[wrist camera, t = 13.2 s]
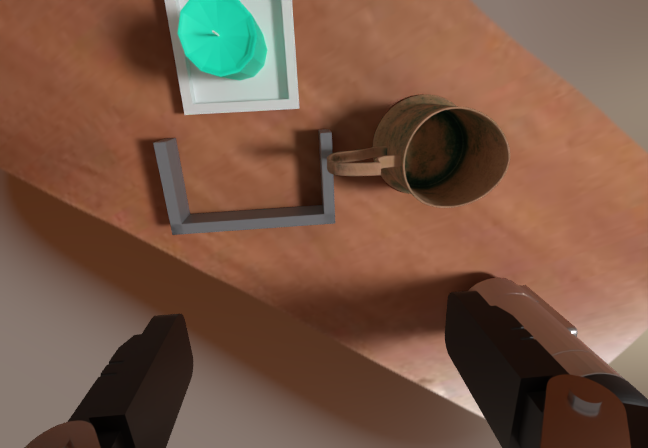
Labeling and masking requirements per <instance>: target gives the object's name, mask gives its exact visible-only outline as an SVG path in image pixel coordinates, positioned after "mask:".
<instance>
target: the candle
mask: <svg viewBox="0 0 648 448" xmlns="http://www.w3.org/2000/svg"><path fill="white" fill-rule="evenodd" d="M177 34H178V36H179V39H180V42H181V44H182V47H183V50H184V53H185V55H186V56H187V57H188V58H189V59H190V61H191V62H192V63H193V64H194V65H195V66H196V67H197V68H198V69H199V70H200V71H202V72H205V73H209V74H212V75H215V76H219V77H223V78H228V79H234V80H239V81H241V80H244V79H248V78H252V77H254V76H255V75H256V74H257V73H258V72H259V71H260V70H261V69H262V68H263V67H264V65H265V60H266V55H267V51H268V50H267V46H266V43H265V39H264V35H263V33H262V31H261V29H260V28H259V26H258V24H257V23H256V21H255V19H254V17H253V16H252V14H251V13H250V12H249V11H248V10H247V8H246V7H245V6H244V5H243V4H242V3H241V2H240V1H239V0H189V1H188V2H187V3H186V4H185V6H184V7H183V8H182V10H181V11H180V18H179V25H178V33H177Z"/></svg>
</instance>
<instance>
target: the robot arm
mask: <svg viewBox="0 0 648 448" xmlns="http://www.w3.org/2000/svg"><path fill="white" fill-rule="evenodd" d="M577 332H578V331H577V329H576V327H575V326H573V325H572V324H571V323H570V322H569V321H567V320H566V319H565V318H564V317H563V316H562V315H560V314H559V313H558V312H557V311H556V310H554V309H553V308H552V307H551V306H550V305H549V304H547V303H546V302H545V301H544V300H543V299H542V298H540V297H539V296H538V295H537V294H536V293H534V292H533V291H532V290H531V289H530V288H529V287H527V286H526V285H523V286H521V285H517V284H516V283H514V282H513V281H511V280H508V279H505V278H491V279H487V280H484V281H481V282H479V283H477V284H476V285H474V286H473V287H471V288H470V289H469V290H468V291H462V292H451V293H450V294H449V296H448V301H447V313H446V326H445V343H446V348H447V351H448V354H449V356H450V358H451V360H452V361H453V363H454V365H455V367H456V368H457V370H458V372H459V373H460V375H461V377H462V379H463V380H464V382H465V384H466V386H467V387H468V389H469V391H470V393H471V394H472V396H473V398H474V399H475V401H476V403H477V405H478V406H479V408H480V410H481V412H482V413H483V415H484V417H485V419H486V420H487V422H488V424H489V425H490V427H491V429H492V430H493V432H494V434H495V436H496V438H497V439H498V441H499V443H500V445H501V446H502V448H648V399H647V398H646V397H645V396H644V395H642V394H641V393H640V392H639V391H638V390H637V389H636V388H634V387H633V386H632V385H631V384H630V383H629V382H628V381H626V380H625V379H624V378H623V377H622V376H621V375H619V374H618V373H617V372H616V371H615V370H614V369H613V368H611V367H610V366H609V365H608V364H607V363H606V362H605V361H603V360H602V359H601V358H600V357H599V356H598V355H596V354H595V353H594V352H593V351H592V350H591V349H590V348H588V347H587V346H586V345H585V344H584V343H583V342H582V341H581V340H579V339H578V338H577ZM192 372H193V355H192V351H191V346H190V342H189V337H188V333H187V328H186V323H185V319H184V317H183V315H182V314H171V315H159V316H154V317H153V318H152V319H151V321H150V322H149V324H148V325H147V327H146V328H145V330H144V332H143V333H142V334H140V335H134V336H133V337H132V338H130V339H129V340H128V341H127V342H125V343H124V344H123V345H122V346H120V347H119V348H118V350H117V351H116V353H115V354H114V355H113V357H112V358H111V360H110V361H109V365H107V366H106V367H105V368H104V370H103V371H102V373H101V376H100V377H98V379H97V380H96V381H95V383H94V384H93V386H92V387H91V389H90V390H89V392H88V393H87V394H86V396H85V398H84V399H83V400H82V402H81V403H80V405H79V406H78V407H77V409H76V410H75V412H74V413H73V415H72V416H71V418H70V419H69V420H68V422H66V423H63V424H60V425H57V426H55V427H53V428H51V429H49V430H47V431H45V432H43V433H42V434H40V435H39V436H37V437H36V438H35V439H33V440H32V441H31V442H30V443H29V444H28V445H27V446H26V447H24V448H166V446H167V443H168V440H169V438H170V435H171V432H172V429H173V427H174V424H175V421H176V418H177V415H178V413H179V410H180V408H181V405H182V402H183V399H184V397H185V394H186V391H187V389H188V386H189V383H190V380H191V377H192Z"/></svg>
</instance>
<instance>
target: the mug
mask: <svg viewBox="0 0 648 448" xmlns="http://www.w3.org/2000/svg"><path fill="white" fill-rule="evenodd" d="M370 158H373V159H374V162H369V163H344V162H353V161H361V160H366V159H370ZM509 162H510V149H509V145H508V142H507V139H506V137H505V135H504V133H503V132H502V130H501V129H500V127H499V126H498V125H497V124H496V123H495V122H494V121H493V120H492V119H491V118H490V117H488V116H487V115H485V114H484V113H482V112H480V111H477V110H474V109H471V108H467V107H458V106H456V105H455V104H453V103H452V102H450V101H449V100H447V99H445V98H443V97H440V96H436V95H417V96H412V97H409V98H407V99H404V100H402V101H401V102H399V103H397V104H396V105H395V106H393V107H392V108H391V109H390V110H389V111H388V112H387V113H386V114H385V115H384V117H383V118H382V120H381V121H380V123H379V125H378V127H377V129H376V132H375V135H374V139H373V147H371V148H366V149H361V150H353V151H343V152H336V153H332V154H330V155H329V156H328V157H327V170H328V172H329V173H331V174H334V175H340V176H374V175H381V177H382V178H383V179H384V180H385V182H386V183H388V184H389V185H390V186H391V187H393V188H394V189H396V190H398V191H401V192H404V193H408V194H412V195H413V196H414V197H415V198H416V199H418V200H419V201H420V202H422V203H424V204H426V205H429V206H433V207H438V208H453V207H459V206H463V205H467V204H470V203H472V202H475V201H477V200H479V199H480V198H482V197H484V196H485V195H486V194H488V193H489V192H490V191H491V190H493V189H494V188H495V187H496V186H497V185H498V184H499V182H500V181H501V180H502V178H503V177H504V175H505V174H506V172H507V169H508V166H509Z"/></svg>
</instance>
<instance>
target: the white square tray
mask: <svg viewBox="0 0 648 448" xmlns="http://www.w3.org/2000/svg"><path fill="white" fill-rule="evenodd" d="M188 1H189V0H165V6H166V12H167V17H168V23H169V29H170V35H171V40H172V46H173V52H174V57H175V63H176V69H177V74H178V80H179V86H180V91H181V97H182V103H183V108H184V114H185V115H191V114H209V113H228V112H246V111H264V110H283V109H299V96H298V82H297V67H296V53H295V38H294V24H293V9H292V0H239V1H240V2H241V3H242V4H243V5H244V6H245V7H246V8H247V10H248V11H249V12H250V13H251V14H252V16H253V17H254V19H255V21H256V23H257V24H258V26H259V28H260V29H261V31H262V33H263V35H264V39H265V43H266V46H267V50H268V51H267V55H266V60H265V65H264V67H263V68H262V69H261V70H260V71H259V72H258V73H257V74H256V75H255V76H254V77H252V78H248V79H244V80H241V81H239V80H234V79H228V78H223V77H219V76H215V75H212V74H209V73H205V72H202V71H200V70H199V69H198V68H197V67H196V66H195V65H194V64H193V63H192V62H191V61H190V59H189V58H188V57H187V56H186V55H185V53H184V50H183V47H182V44H181V42H180V39H179V36H178V34H177V33H178V25H179V18H180V11H181V10H182V8H183V7H184V6H185V4H186V3H187V2H188Z"/></svg>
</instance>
